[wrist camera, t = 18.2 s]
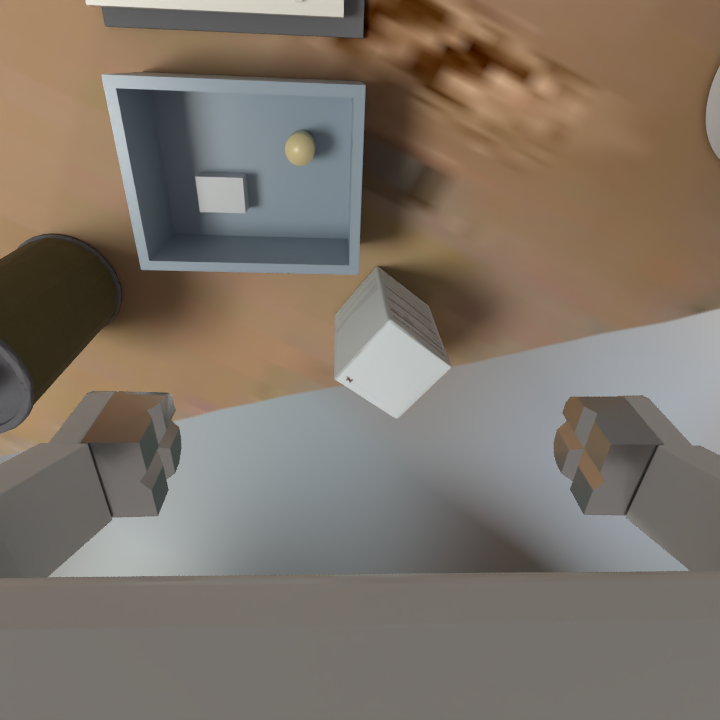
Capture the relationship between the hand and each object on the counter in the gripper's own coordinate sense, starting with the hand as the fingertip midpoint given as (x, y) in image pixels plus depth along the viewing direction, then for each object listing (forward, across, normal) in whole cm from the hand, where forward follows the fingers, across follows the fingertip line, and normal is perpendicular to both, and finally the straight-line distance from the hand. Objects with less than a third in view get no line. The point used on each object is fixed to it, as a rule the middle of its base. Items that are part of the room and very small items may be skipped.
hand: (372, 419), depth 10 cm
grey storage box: (+39, +8, +2) cm, 40 cm away
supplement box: (+39, -4, +16) cm, 43 cm away
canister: (+39, +28, +14) cm, 50 cm away
